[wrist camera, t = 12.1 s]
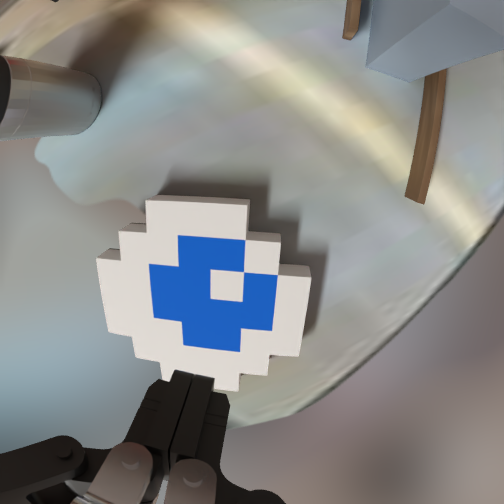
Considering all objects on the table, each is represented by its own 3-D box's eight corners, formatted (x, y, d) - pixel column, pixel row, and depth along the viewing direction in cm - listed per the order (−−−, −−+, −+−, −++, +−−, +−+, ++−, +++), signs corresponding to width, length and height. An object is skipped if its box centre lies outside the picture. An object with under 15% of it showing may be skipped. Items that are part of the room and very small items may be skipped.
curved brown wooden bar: (319, 175, 35) (324, 179, 32) (351, -44, 24) (357, -58, 20) (411, 198, 35) (424, 204, 31) (434, -14, 24) (445, -24, 20)
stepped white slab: (90, 199, 35) (320, 211, 33) (105, 193, 39) (315, 204, 37) (118, 371, 45) (291, 395, 43) (127, 356, 48) (290, 378, 47)
